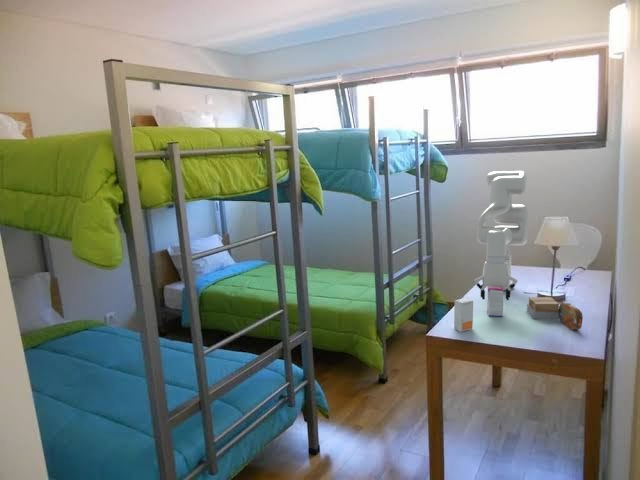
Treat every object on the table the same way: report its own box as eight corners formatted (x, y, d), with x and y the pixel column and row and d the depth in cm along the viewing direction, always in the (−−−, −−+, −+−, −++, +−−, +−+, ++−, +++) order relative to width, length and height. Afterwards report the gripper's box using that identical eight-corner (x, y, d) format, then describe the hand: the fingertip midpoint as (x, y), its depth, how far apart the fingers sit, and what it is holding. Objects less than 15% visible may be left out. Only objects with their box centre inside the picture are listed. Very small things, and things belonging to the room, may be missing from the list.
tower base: (527, 312, 209) (527, 304, 208) (551, 312, 207) (551, 304, 206) (533, 320, 199) (533, 312, 198) (558, 320, 197) (559, 312, 197)
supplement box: (503, 317, 203) (503, 290, 201) (488, 316, 204) (489, 290, 202) (501, 312, 208) (501, 287, 206) (486, 312, 210) (487, 286, 208)
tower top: (528, 305, 207) (529, 297, 207) (550, 305, 206) (551, 297, 206) (535, 312, 198) (535, 303, 198) (558, 312, 197) (558, 303, 197)
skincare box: (461, 332, 188) (461, 302, 186) (453, 328, 192) (454, 300, 190) (473, 329, 191) (473, 300, 189) (466, 326, 195) (466, 297, 192)
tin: (557, 319, 197) (558, 299, 196) (565, 319, 197) (566, 299, 196) (574, 333, 182) (576, 312, 181) (583, 333, 182) (584, 311, 181)
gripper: (515, 257, 204) (514, 296, 207) (473, 257, 207) (472, 296, 210) (519, 261, 197) (518, 301, 199) (475, 261, 200) (475, 301, 202)
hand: (495, 298), depth 205 cm, fingers open, 9 cm apart
